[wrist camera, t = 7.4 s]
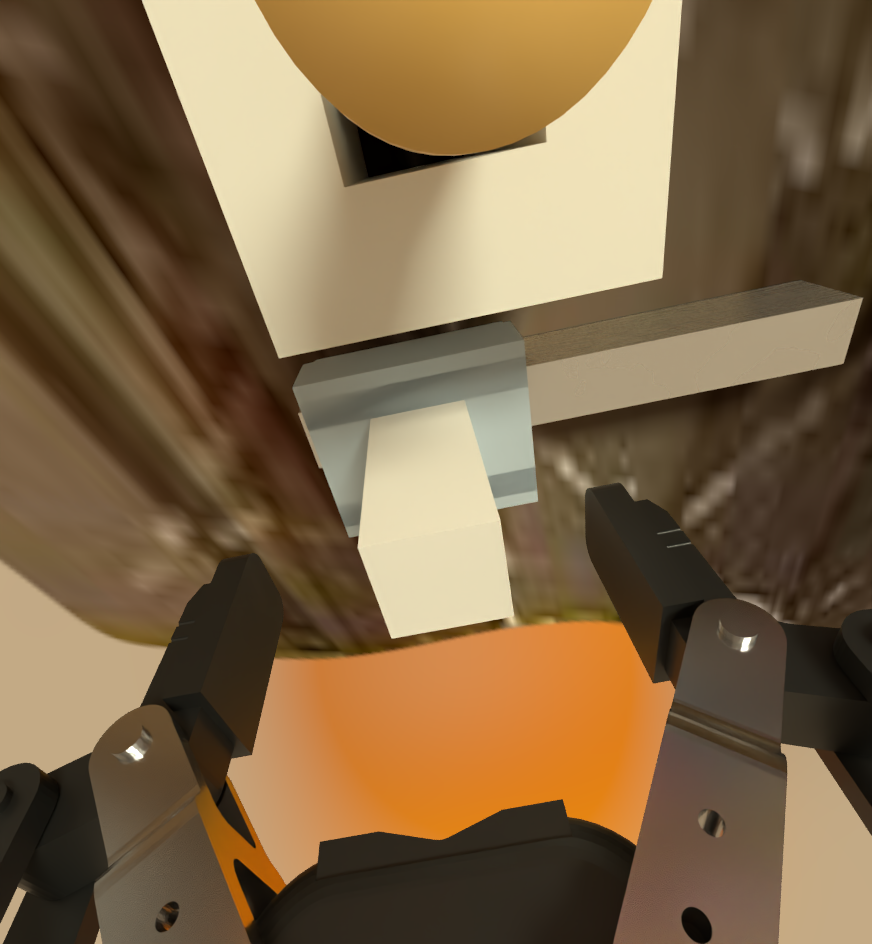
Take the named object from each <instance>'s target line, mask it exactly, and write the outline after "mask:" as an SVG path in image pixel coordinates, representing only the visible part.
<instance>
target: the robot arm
mask: <svg viewBox="0 0 872 944" xmlns="http://www.w3.org/2000/svg"><path fill="white" fill-rule="evenodd" d="M585 529H586V544H587V549H588V553H589V556H590V559H591V561H592V563H593V565H594V567H595V569H596V571H597V573H598V575H599V577H600V579H601V581H602V583H603V585H604V587H605V589H606V591H607V593H608V595H609V597H610V599H611V601H612V603H613V605H614V607H615V609H616V611H617V613H618V615H619V617H620V619H621V621H622V623H623V625H624V627H625V629H626V630H627V633H628V635H629V637H630V639H631V641H632V643H633V645H634V646H635V648H636V650H637V652H638V654H639V656H640V658H641V660H642V662H643V664H644V666H645V668H646V670H647V672H648V674H649V676H650V678H651V680H652V682H653V683H658V682H664V681H669V680H670V681H671V682H672V684H673V686H674V688H675V694H674V699H673V702H672V706H671V709H670V711H669V714H668V718H667V722H666V726H665V730H664V734H663V738H662V742H661V747H660V751H659V755H658V759H657V763H656V767H655V772H654V776H653V780H652V784H651V789H650V792H649V796H648V800H647V805H646V809H645V813H644V817H643V821H642V825H641V830H640V834H639V838H638V842H637V846H636V845H635V844H633V843H632V842H630V841H629V840H628V839H626V838H624V837H623V836H621V835H619V834H617V833H616V832H614V831H612V830H610V829H607V828H605V827H603V826H600V825H598V824H596V823H592V822H589V821H585V820H582V819H577V818H570V817H567V814H566V810H565V806H564V803H563V800H557V801H550V802H545V803H539V804H533V805H528V806H522V807H516V808H510V809H505V810H501V811H499V812H497V813H495V814H493V815H491V816H489V817H488V818H486V819H484V820H482V821H480V822H478V823H476V824H474V825H472V826H470V827H468V828H466V829H464V830H462V831H460V832H458V833H457V834H455V835H453V836H451V837H449V838H446V839H443V840H432V839H425V838H418V837H412V836H405V835H398V834H391V833H385V832H374V833H368V834H362V835H357V836H351V837H346V838H340V839H334V840H328V841H323V842H320V846H319V856H318V863H317V864H315V865H313V866H311V867H310V868H308V869H307V870H305V871H304V872H302V873H301V874H299V875H298V876H297V877H296V878H295V879H293V880H292V881H291V882H290V883H289V884H288V885H286V884H285V882H284V880H283V879H282V877H281V876H280V875H279V873H278V871H277V870H276V868H275V867H274V866H273V864H272V863H271V861H270V860H269V858H268V856H267V854H266V853H265V851H264V849H263V847H262V845H261V843H260V840H259V838H258V836H257V834H256V832H255V830H254V828H253V826H252V824H251V822H250V819H249V817H248V815H247V813H246V811H245V809H244V807H243V805H242V803H241V801H240V799H239V796H238V794H237V792H236V790H235V788H234V786H233V784H232V782H231V780H230V779H229V777H228V776H227V772H228V768H229V764H230V761H231V759H232V758H237V757H243V756H248V755H252V752H253V747H254V742H255V738H256V734H257V730H258V726H259V721H260V717H261V712H262V708H263V704H264V700H265V695H266V691H267V686H268V682H269V678H270V674H271V669H272V665H273V661H274V656H275V652H276V648H277V643H278V639H279V635H280V630H281V626H282V622H283V604H282V599H281V596H280V594H279V592H278V590H277V588H276V587H275V585H274V583H273V581H272V579H271V577H270V575H269V574H268V572H267V570H266V568H265V566H264V564H263V563H262V561H261V559H260V557H259V556H258V555H257V554H255V553H252V554H247V555H242V556H237V557H232V558H227V559H223V560H222V561H221V562H220V563H219V565H218V567H217V570H216V572H215V574H214V577H213V579H212V581H211V583H210V584H205V585H203V586H202V587H201V588H200V589H199V590H198V592H197V593H196V594H195V595H194V596H193V597H192V599H191V600H190V601H189V602H188V603H187V605H186V607H185V610H184V612H183V614H182V616H181V618H180V621H179V626H178V627H176V629H175V632H174V634H173V636H172V638H171V640H172V642H171V643H169V645H168V647H167V649H166V651H165V654H164V656H163V658H162V661H161V663H160V665H159V667H158V669H157V671H156V673H155V676H154V678H153V680H152V682H151V684H150V686H149V689H148V691H147V693H146V695H145V698H144V700H143V703H142V704H141V706H140V707H139V708H137V709H134V710H132V711H130V712H128V713H127V714H125V715H124V716H122V717H121V718H120V719H118V720H117V721H116V722H115V723H114V724H113V725H112V726H110V727H109V729H108V730H107V731H106V732H105V733H104V734H103V735H102V737H101V738H100V739H99V741H98V743H97V744H96V746H95V747H94V750H93V752H92V753H89V754H87V755H85V756H83V757H81V758H79V759H77V760H75V761H73V762H71V763H69V764H66V765H64V766H62V767H60V768H58V769H56V770H54V771H52V772H50V773H48V774H46V773H45V772H43V771H42V770H40V769H39V768H38V767H37V766H35V765H34V764H31V763H21V764H17V765H13V766H10V767H8V768H6V769H4V770H2V771H0V923H1V920H2V919H3V917H4V914H5V912H6V910H7V908H8V906H9V904H10V902H11V899H12V897H13V895H14V893H15V891H16V889H17V887H19V888H21V889H23V890H25V891H27V892H26V894H25V896H24V898H23V901H22V903H21V905H20V907H19V910H18V912H17V914H16V916H15V918H14V921H13V923H12V925H11V927H10V929H9V931H8V934H7V936H6V938H5V940H4V942H3V944H94V943H95V940H96V937H97V934H98V931H99V928H100V932H101V938H102V943H103V944H778V938H779V919H780V901H781V900H780V899H781V882H782V881H781V880H782V863H783V844H784V825H785V807H786V788H787V787H786V786H787V761H786V757H785V755H784V754H782V753H781V746H780V745H781V743H783V744H789V745H796V746H802V747H809V748H815V750H816V751H817V753H818V755H819V756H820V758H821V759H822V761H823V762H824V764H825V765H826V767H827V768H828V770H829V771H830V773H831V774H832V776H833V777H834V779H835V780H836V782H837V783H838V785H839V787H840V788H841V790H842V791H843V793H844V794H845V796H846V797H847V799H848V800H849V802H850V803H851V805H852V806H853V808H854V809H855V811H856V812H857V814H858V815H859V817H860V818H861V820H862V821H863V823H864V824H865V826H866V828H867V829H868V831H869V832H870V834H871V835H872V609H867V610H860V611H856V612H854V613H851V614H850V615H849V616H847V617H846V619H845V620H844V621H843V623H842V626H841V628H828V627H817V626H806V625H795V624H787V623H782V622H778V621H777V620H776V619H775V618H774V617H772V616H771V615H770V614H769V613H767V612H766V611H765V610H763V609H761V608H760V607H758V606H756V605H754V604H751V603H749V602H746V601H743V600H738V599H737V598H736V597H735V596H734V595H733V594H732V593H731V591H730V590H729V589H728V588H727V586H726V585H725V584H724V583H723V581H722V580H721V579H720V578H719V576H718V575H717V574H716V573H715V571H714V570H713V569H712V567H711V566H710V565H709V564H708V562H707V561H706V560H705V559H704V557H703V556H702V555H701V554H700V552H699V551H698V550H697V549H696V547H695V546H694V545H692V544H691V541H690V540H689V538H688V537H687V536H686V535H685V533H684V532H683V531H681V530H680V527H679V526H678V525H677V523H676V522H675V521H674V519H673V518H672V517H671V516H670V514H669V513H668V512H667V511H666V510H664V509H662V508H661V507H659V506H657V505H656V504H654V503H652V502H651V501H649V500H647V499H646V500H641V501H636V502H634V500H633V499H632V498H631V496H630V495H629V494H628V492H627V491H626V489H625V488H624V487H623V485H622V484H620V483H614V484H609V485H604V486H599V487H593V488H588V489H587V490H586V493H585Z"/></svg>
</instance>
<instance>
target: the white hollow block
mask: <svg viewBox="0 0 872 944" xmlns="http://www.w3.org/2000/svg"><path fill="white" fill-rule="evenodd" d="M142 2H143V5H144V7H145V10H146V12H147V15H148V18H149V20H150V23H151V25H152V28H153V31H154V33H155V36H156V38H157V41H158V44H159V46H160V49H161V52H162V54H163V57H164V59H165V62H166V65H167V67H168V70H169V72H170V75H171V78H172V80H173V83H174V85H175V88H176V91H177V93H178V96H179V99H180V101H181V104H182V106H183V109H184V112H185V114H186V117H187V119H188V122H189V125H190V127H191V130H192V132H193V135H194V138H195V140H196V143H197V146H198V148H199V151H200V153H201V156H202V159H203V161H204V164H205V166H206V169H207V172H208V174H209V177H210V179H211V182H212V185H213V187H214V190H215V193H216V195H217V198H218V200H219V203H220V206H221V208H222V211H223V213H224V216H225V219H226V221H227V224H228V226H229V229H230V232H231V234H232V237H233V240H234V242H235V245H236V247H237V250H238V253H239V255H240V258H241V260H242V263H243V266H244V268H245V271H246V273H247V276H248V279H249V281H250V284H251V287H252V289H253V292H254V294H255V297H256V300H257V302H258V305H259V307H260V310H261V313H262V315H263V318H264V320H265V323H266V326H267V328H268V331H269V334H270V336H271V339H272V341H273V344H274V347H275V349H276V352H277V354H278V357H279V358H284V357H288V356H293V355H298V354H303V353H307V352H312V351H317V350H322V349H327V348H331V347H336V346H341V345H346V344H350V343H355V342H360V341H365V340H369V339H374V338H379V337H384V336H388V335H393V334H398V333H403V332H408V331H412V330H417V329H422V328H427V327H431V326H436V325H441V324H446V323H450V322H455V321H460V320H465V319H469V318H474V317H479V316H484V315H489V314H493V313H498V312H503V311H508V310H512V309H517V308H522V307H527V306H531V305H536V304H541V303H546V302H550V301H555V300H560V299H565V298H570V297H574V296H579V295H584V294H589V293H593V292H598V291H603V290H608V289H612V288H617V287H622V286H627V285H631V284H636V283H641V282H646V281H651V280H655V279H660V278H662V273H663V259H664V245H665V231H666V217H667V203H668V189H669V175H670V161H671V147H672V133H673V119H674V105H675V92H676V78H677V64H678V50H679V36H680V22H681V8H682V0H652V2H651V4H650V6H649V8H648V10H647V12H646V14H645V16H644V18H643V19H642V21H641V23H640V24H639V26H638V28H637V29H636V31H635V33H634V34H633V36H632V38H631V39H630V41H629V43H628V44H627V46H626V47H625V49H624V50H623V51H622V53H621V54H620V55H619V57H618V58H617V59H616V61H615V62H614V63H613V65H612V66H611V67H610V69H609V70H608V71H607V73H606V74H605V75H604V76H603V77H602V78H601V79H600V80H599V81H598V83H597V84H596V85H595V86H594V87H593V88H592V89H591V90H590V91H589V92H588V93H587V94H586V96H585V97H583V98H582V99H581V100H580V101H579V102H578V103H576V104H575V105H574V106H573V107H572V108H571V109H569V110H568V111H567V112H566V113H565V114H564V115H562V116H561V117H560V118H558V119H556V120H555V121H553V122H552V123H550V124H549V125H547V126H546V127H544V128H543V129H541V130H540V131H538V132H536V133H534V134H532V135H530V136H528V137H525V138H523V139H521V140H519V141H517V142H515V143H512V144H509V145H506V146H502V147H499V148H496V149H493V150H489V151H483V152H477V153H474V154H471V155H467V156H462V157H458V158H453V159H449V160H444V161H440V162H435V163H431V164H427V165H422V166H418V167H413V168H409V169H404V170H400V171H395V172H391V173H386V174H382V175H377V176H373V177H368V173H367V169H366V164H365V160H364V155H363V151H362V146H361V142H360V138H359V133H358V129H357V125H356V124H354V123H353V122H352V121H350V120H349V119H348V118H347V117H345V116H344V115H343V114H342V113H341V112H340V111H339V110H338V109H337V108H335V107H334V106H333V105H332V104H331V103H330V102H329V101H328V100H327V99H326V98H325V97H324V96H323V95H322V94H321V93H320V92H319V91H318V90H317V89H316V88H315V87H314V86H313V85H312V84H311V82H310V81H309V80H308V79H307V78H306V77H305V76H304V74H303V73H302V72H301V71H300V70H299V69H298V68H297V67H296V65H295V64H294V63H293V61H292V60H291V58H290V57H289V55H288V54H287V53H286V51H285V50H284V48H283V47H282V45H281V44H280V43H279V41H278V40H277V38H276V37H275V36H274V34H273V32H272V30H271V29H270V27H269V25H268V23H267V21H266V20H265V18H264V16H263V14H262V13H261V11H260V9H259V7H258V5H257V4H256V2H255V0H142Z"/></svg>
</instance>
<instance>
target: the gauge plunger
mask: <svg viewBox="0 0 872 944" xmlns="http://www.w3.org/2000/svg"><path fill="white" fill-rule="evenodd" d="M255 2H256V4H257V5H258V7H259V9H260V11H261V13H262V14H263V16H264V18H265V20H266V21H267V23H268V25H269V27H270V29H271V30H272V32H273V34H274V36H275V37H276V38H277V40H278V41H279V43H280V44H281V45H282V47H283V48H284V50H285V51H286V53H287V54H288V55H289V57H290V58H291V60H292V61H293V63H294V64H295V65H296V67H297V68H298V69H299V70H300V71H301V72H302V73H303V74H304V76H305V77H306V78H307V79H308V80H309V81H310V82H311V84H312V85H313V86H314V87H315V88H316V89H317V90H318V91H319V92H320V93H321V94H322V95H323V96H324V97H325V98H326V99H327V100H328V101H329V102H330V103H331V104H332V105H333V106H334V107H335V108H337V109H338V110H339V111H340V112H341V113H342V114H343V115H344V116H345V117H347V118H348V119H349V120H350V121H352V122H353V123H354V124H356V125H357V126H359V127H360V128H362V129H363V130H365V131H366V132H367V133H369V134H371V135H373V136H375V137H377V138H379V139H381V140H382V141H384V142H386V143H388V144H390V145H393V146H396V147H399V148H402V149H405V150H408V151H411V152H416V153H422V154H428V155H437V156H457V155H464V154H471V153H477V152H483V151H489V150H493V149H496V148H499V147H502V146H506V145H509V144H512V143H515V142H517V141H519V140H521V139H523V138H525V137H528V136H530V135H532V134H534V133H536V132H538V131H540V130H541V129H543V128H544V127H546V126H547V125H549V124H550V123H552V122H553V121H555V120H556V119H558V118H560V117H561V116H562V115H564V114H565V113H566V112H567V111H568V110H569V109H571V108H572V107H573V106H574V105H575V104H576V103H578V102H579V101H580V100H581V99H582V98H583V97H585V96H586V94H587V93H588V92H589V91H590V90H591V89H592V88H593V87H594V86H595V85H596V84H597V83H598V81H599V80H600V79H601V78H602V77H603V76H604V75H605V74H606V73H607V71H608V70H609V69H610V67H611V66H612V65H613V63H614V62H615V61H616V59H617V58H618V57H619V55H620V54H621V53H622V51H623V50H624V49H625V47H626V46H627V44H628V43H629V41H630V39H631V38H632V36H633V34H634V33H635V31H636V29H637V28H638V26H639V24H640V23H641V21H642V19H643V18H644V16H645V14H646V12H647V10H648V8H649V6H650V4H651V2H652V0H255Z"/></svg>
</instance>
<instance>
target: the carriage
mask: <svg viewBox="0 0 872 944" xmlns="http://www.w3.org/2000/svg"><path fill="white" fill-rule="evenodd" d="M292 389H293V392H294V394H295V397H296V399H297V402H298V405H299V407H300V410H301V413H302V415H303V418H304V420H305V423H306V426H307V428H308V431H309V434H310V436H311V439H312V441H313V444H314V447H315V449H316V452H317V455H318V457H319V460H320V462H321V465H322V468H323V470H324V473H325V476H326V478H327V481H328V483H329V486H330V489H331V491H332V494H333V497H334V499H335V502H336V504H337V507H338V510H339V512H340V515H341V518H342V520H343V523H344V526H345V528H346V531H347V533H348V536H349V538H350V537H355V536H359V540H358V550H359V553H360V555H361V558H362V561H363V563H364V566H365V569H366V571H367V574H368V577H369V579H370V582H371V585H372V587H373V590H374V593H375V595H376V598H377V601H378V603H379V606H380V609H381V611H382V614H383V617H384V619H385V622H386V625H387V628H388V630H389V633H390V636H391V638H392V639H393V638H398V637H404V636H409V635H415V634H420V633H426V632H431V631H437V630H442V629H447V628H453V627H458V626H464V625H469V624H475V623H480V622H486V621H491V620H497V619H502V618H507V617H513V616H514V612H513V605H512V598H511V591H510V584H509V577H508V570H507V563H506V556H505V549H504V543H503V536H502V529H501V522H500V518H499V514H498V511H497V509H500V508H505V507H511V506H516V505H521V504H526V503H531V502H537V501H538V496H537V484H536V473H535V461H534V449H533V438H532V426H531V414H530V403H529V391H528V379H527V368H526V356H525V344H524V339H523V338H522V336H521V335H520V334H519V332H518V331H517V329H516V328H515V327H514V325H513V324H512V323H511V321H508V322H502V321H500V322H495V323H490V324H486V325H481V326H476V327H471V328H467V329H462V330H457V331H452V332H447V333H443V334H438V335H433V336H428V337H423V338H419V339H414V340H409V341H404V342H400V343H395V344H390V345H385V346H380V347H376V348H371V349H366V350H361V351H357V352H352V353H347V354H342V355H337V356H333V357H328V358H323V359H318V360H315V362H312V363H307V364H303V365H302V368H301V370H300V372H299V374H298V376H297V378H296V380H295V383H294V385H293V387H292Z"/></svg>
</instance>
